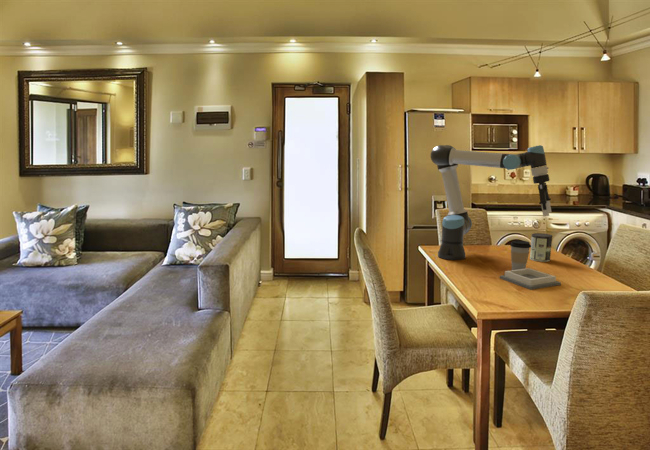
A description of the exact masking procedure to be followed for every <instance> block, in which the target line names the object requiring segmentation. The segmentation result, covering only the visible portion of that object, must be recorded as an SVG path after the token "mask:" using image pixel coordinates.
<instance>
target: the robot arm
mask: <svg viewBox="0 0 650 450" xmlns="http://www.w3.org/2000/svg"><path fill="white" fill-rule="evenodd" d="M429 156H430V160H431V162H432V163H433V164H434V165H436V166H437V170H438V171H439V172H440V173H441V178H442V183H443V187H444V194H445V198H446V203H447V208H448V213H447V215H446V216H444V217H443V219H442V224H441V225H442V230H441V244H440V247H439V250H438V251H437V257H439V258H440V259H443V260H452V261H461V260H464V259H466V251H465V248H464V247H465V246H464V235H466V234H468V233H469V232H470V231H471V229H472V225H473V223H472V219H471V217H469V213H468V210H467V209H465V208H464V207H465V206H464V202H463V198H462V191H461V187H460V182H459V176H458V173H457V168H458V167H459V165H464V166H465V165H466V166H473V167H474V166H475V167H485V168H497V169H498V168H499V169H505V170H507V171H510V170H516V169H522V168H527V167H530V171H531V175H532V181H533V184H538V185H537V190H538V193H539V194H538V195H539V196H538V197H539V202H538V203H539V204H538V205H540V206H541V207H540V208H541V211H542V217H549V216H550V214H551V213H553V212H552V207H551V206H552V205H551V200H552V198H550V195H549V191H548V185H547V183H546V182H550V176H549V174H548V173H549V171H548V170H549V169H550V167H548V166H547V158H546V152H545V149H544V146H543V145H535V146H530V147H528V148H527V151H526V152H521V153H517V154H513V153H510V154H509V153H501V152H500V153H498V152H485V151H474V150H464V149H463V150H462V149H456V148H455V147H453V146H452V145H450V144H446V145H444V144H439V145H436V146H434V147H433V148H432V150H431V152H430V155H429Z"/></svg>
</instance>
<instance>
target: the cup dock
mask: <svg viewBox="0 0 650 450" xmlns="http://www.w3.org/2000/svg"><path fill="white" fill-rule="evenodd" d="M499 279H501V280H503V281H507V282H509V283H511V284H515V285H517V286H519V287H522V288H525V289H528V290H530V291H531V290H537V289H544V288H550V287H557V286H561V285H562V282H561V281H559V280H557V276H556V275H552V274H549V273H547V272H542V271H539V270H537V269H535V268H534V269H533V268H530V267H528V268H527V267H526V268H525V269H518V270H512V269H511V270H504V275H503V274H502V275H499ZM556 285H557V286H556Z"/></svg>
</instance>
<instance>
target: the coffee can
mask: <svg viewBox="0 0 650 450" xmlns="http://www.w3.org/2000/svg"><path fill="white" fill-rule="evenodd" d="M552 242H553V235H552V234H548V233H540V232H537V233H536V232H534V233H531V239H530V245H531V247H530V250H529V260H531V261H534V262H541V263H546V262H550V261H551V254H552V253H551V252H552Z"/></svg>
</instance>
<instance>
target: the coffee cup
mask: <svg viewBox="0 0 650 450" xmlns="http://www.w3.org/2000/svg"><path fill="white" fill-rule="evenodd" d="M530 249H531V242H529V241H526V240H518V239H517V240H512V241H511V243H510V259H511V260H510V261H511V270H518V269H525V268H527V263H528V258H529V256H530Z"/></svg>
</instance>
